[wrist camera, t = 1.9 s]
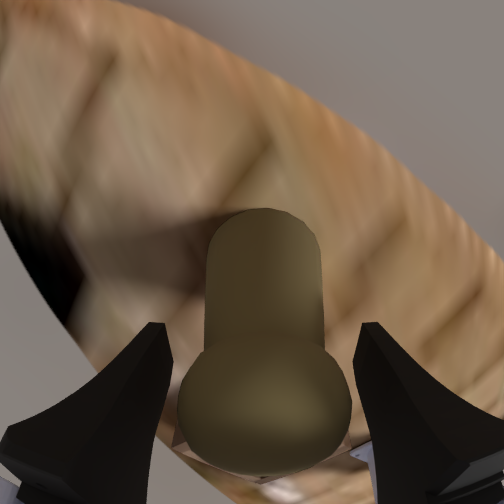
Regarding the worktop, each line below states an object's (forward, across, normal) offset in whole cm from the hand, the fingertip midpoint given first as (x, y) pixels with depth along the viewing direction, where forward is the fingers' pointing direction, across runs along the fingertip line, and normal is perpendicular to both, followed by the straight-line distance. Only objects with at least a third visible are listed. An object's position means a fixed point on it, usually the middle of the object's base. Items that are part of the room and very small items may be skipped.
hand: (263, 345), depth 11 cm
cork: (+7, 0, 0) cm, 7 cm away
